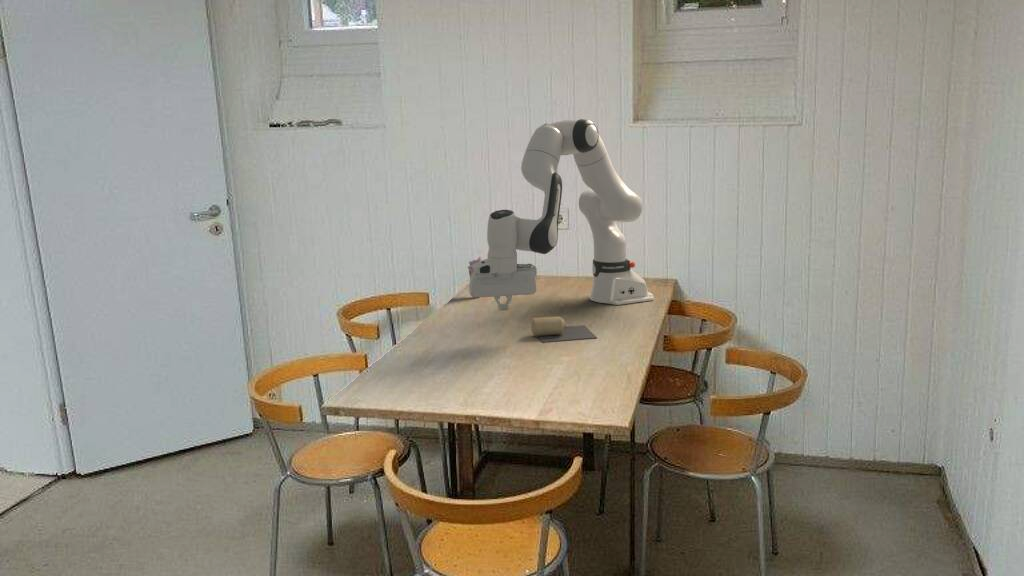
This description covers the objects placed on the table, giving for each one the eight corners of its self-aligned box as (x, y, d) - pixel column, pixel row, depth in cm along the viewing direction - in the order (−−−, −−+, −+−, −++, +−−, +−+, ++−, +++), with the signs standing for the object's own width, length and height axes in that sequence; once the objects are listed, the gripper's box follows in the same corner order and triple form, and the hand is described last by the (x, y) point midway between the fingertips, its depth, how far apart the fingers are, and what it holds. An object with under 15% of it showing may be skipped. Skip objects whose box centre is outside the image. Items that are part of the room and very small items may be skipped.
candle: (534, 335, 274) (567, 333, 276) (533, 317, 275) (566, 315, 276) (532, 336, 280) (564, 334, 281) (530, 318, 280) (562, 316, 282)
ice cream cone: (485, 299, 324) (484, 258, 320) (468, 300, 324) (466, 259, 321) (486, 295, 330) (485, 255, 327) (469, 295, 331) (468, 255, 327)
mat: (584, 325, 288) (584, 325, 288) (597, 338, 275) (597, 337, 275) (532, 330, 285) (532, 329, 285) (542, 342, 272) (542, 341, 272)
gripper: (534, 261, 276) (534, 305, 279) (467, 264, 272) (468, 309, 276) (538, 265, 270) (539, 310, 273) (470, 268, 266) (471, 314, 270)
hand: (503, 309), depth 274 cm, fingers closed
